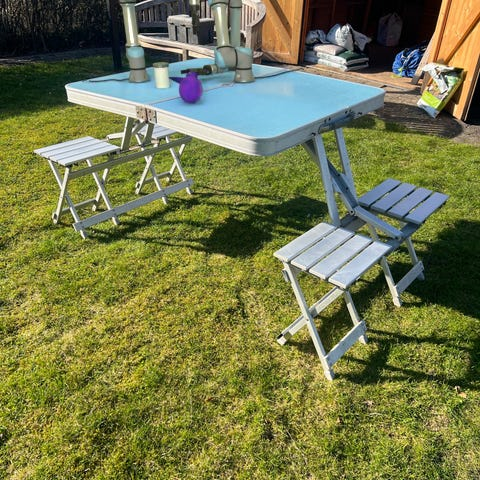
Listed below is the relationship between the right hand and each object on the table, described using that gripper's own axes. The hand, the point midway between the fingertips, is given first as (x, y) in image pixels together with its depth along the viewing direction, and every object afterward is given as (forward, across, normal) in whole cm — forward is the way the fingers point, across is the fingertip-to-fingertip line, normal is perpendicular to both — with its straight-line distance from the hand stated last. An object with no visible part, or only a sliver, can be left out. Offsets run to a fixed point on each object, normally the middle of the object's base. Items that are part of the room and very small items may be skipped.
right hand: (186, 73), depth 328 cm
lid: (+20, 0, +9) cm, 22 cm away
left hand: (-28, +25, +21) cm, 43 cm away
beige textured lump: (-57, +15, -7) cm, 59 cm away
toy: (+30, -48, -6) cm, 57 cm away
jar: (+20, 0, -6) cm, 21 cm away
